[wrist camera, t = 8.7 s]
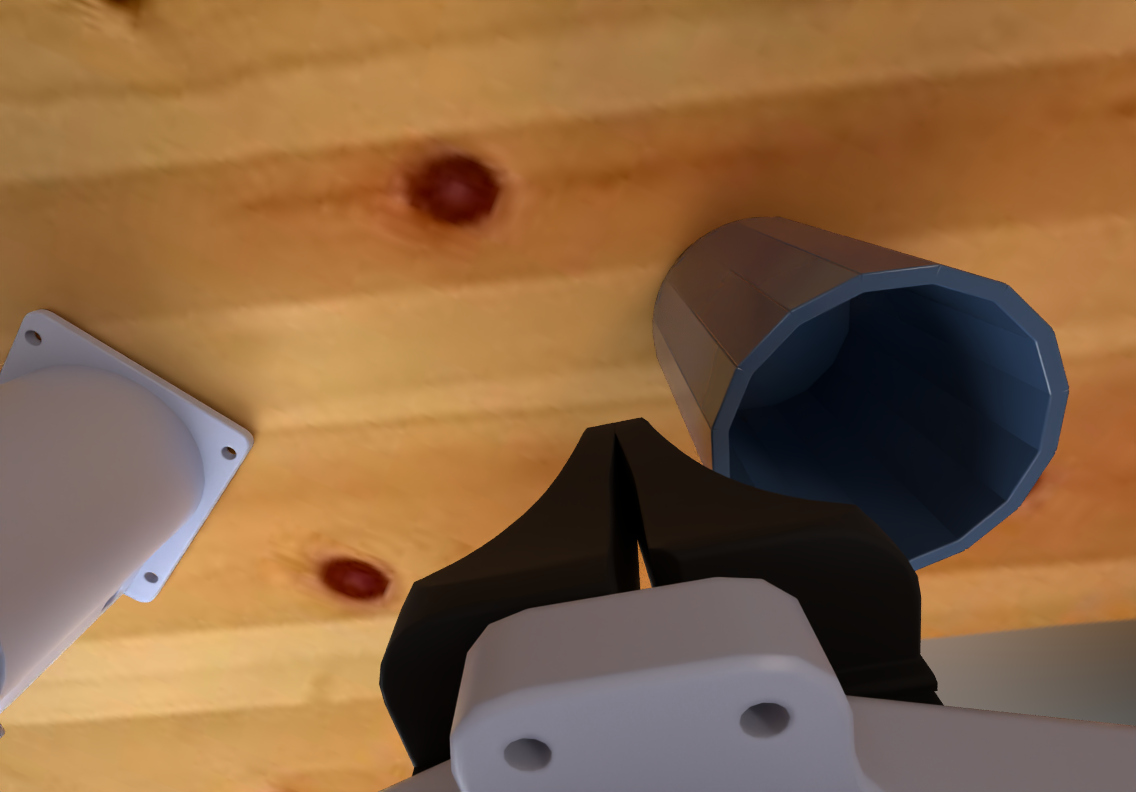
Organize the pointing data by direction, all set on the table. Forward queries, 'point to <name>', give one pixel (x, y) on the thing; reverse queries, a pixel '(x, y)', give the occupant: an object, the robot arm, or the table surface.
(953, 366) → the blue cup
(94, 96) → the table surface
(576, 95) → the table surface
